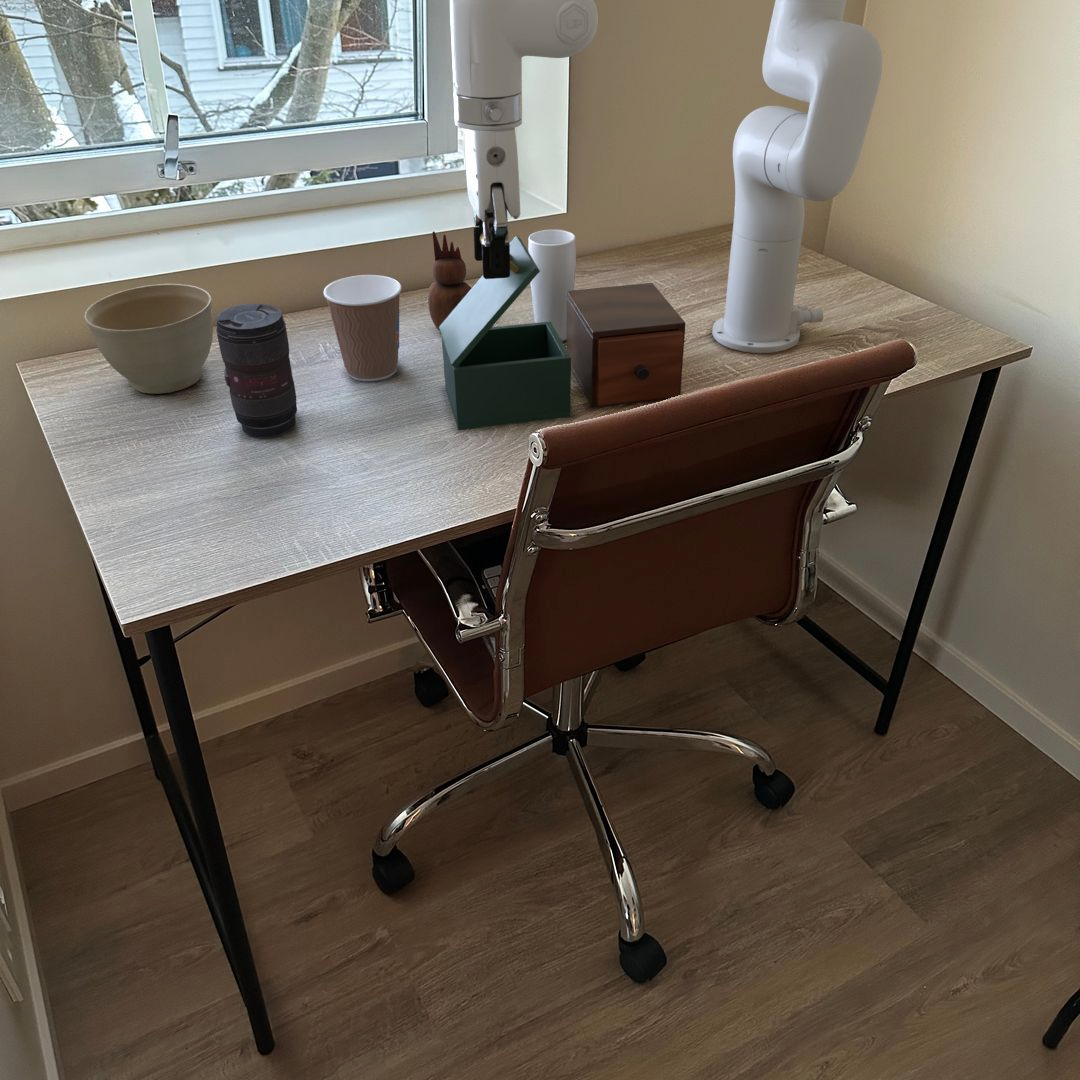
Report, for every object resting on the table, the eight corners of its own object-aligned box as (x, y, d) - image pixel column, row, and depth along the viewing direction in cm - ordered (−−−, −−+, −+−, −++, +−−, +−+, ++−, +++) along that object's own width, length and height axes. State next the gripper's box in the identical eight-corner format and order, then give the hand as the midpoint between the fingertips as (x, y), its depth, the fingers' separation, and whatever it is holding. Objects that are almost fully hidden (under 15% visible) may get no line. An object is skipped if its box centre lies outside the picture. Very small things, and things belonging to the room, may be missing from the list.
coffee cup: (423, 373, 142) (415, 290, 135) (357, 394, 137) (346, 309, 130) (385, 348, 148) (376, 268, 142) (321, 368, 143) (309, 286, 137)
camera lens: (270, 447, 125) (248, 334, 117) (223, 431, 129) (198, 319, 120) (315, 420, 131) (297, 310, 122) (269, 405, 134) (248, 297, 126)
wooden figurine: (424, 334, 152) (415, 235, 144) (441, 320, 157) (434, 222, 148) (465, 341, 150) (459, 240, 142) (481, 326, 155) (476, 227, 146)
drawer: (682, 400, 132) (686, 337, 127) (600, 410, 130) (602, 346, 125) (649, 355, 143) (652, 295, 138) (574, 363, 142) (574, 302, 137)
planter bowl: (222, 348, 150) (207, 276, 143) (231, 395, 137) (214, 319, 131) (106, 364, 146) (85, 291, 139) (104, 415, 133) (81, 337, 127)
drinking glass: (571, 348, 148) (571, 246, 139) (525, 344, 149) (523, 243, 140) (579, 329, 153) (580, 230, 144) (535, 326, 154) (533, 227, 146)
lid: (520, 238, 128) (488, 211, 125) (540, 271, 119) (506, 242, 116) (443, 330, 133) (410, 306, 130) (456, 368, 123) (421, 343, 121)
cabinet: (680, 398, 135) (685, 322, 128) (591, 408, 133) (592, 332, 126) (648, 353, 146) (652, 282, 140) (566, 362, 144) (566, 290, 138)
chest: (551, 378, 140) (550, 321, 135) (570, 417, 131) (571, 357, 126) (445, 389, 138) (441, 332, 133) (458, 430, 128) (453, 370, 123)
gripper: (537, 125, 107) (536, 291, 117) (507, 92, 121) (509, 243, 131) (466, 128, 105) (472, 296, 116) (444, 94, 119) (451, 247, 130)
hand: (491, 266), depth 123 cm, fingers closed on lid, 5 cm apart
